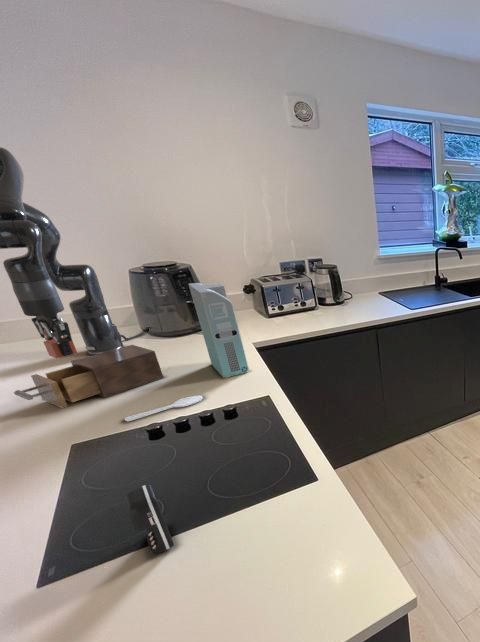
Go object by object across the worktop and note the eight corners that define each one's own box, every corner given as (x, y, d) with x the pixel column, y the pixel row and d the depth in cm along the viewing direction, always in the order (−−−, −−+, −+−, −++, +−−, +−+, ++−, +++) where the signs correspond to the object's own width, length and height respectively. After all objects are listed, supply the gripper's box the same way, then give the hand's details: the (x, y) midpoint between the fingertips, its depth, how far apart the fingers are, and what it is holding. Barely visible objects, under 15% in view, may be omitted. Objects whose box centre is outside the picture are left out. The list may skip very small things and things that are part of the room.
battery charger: (141, 538, 74) (120, 490, 70) (167, 527, 77) (148, 479, 72) (148, 560, 70) (125, 510, 65) (175, 547, 72) (155, 498, 68)
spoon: (123, 417, 112) (122, 415, 111) (200, 394, 125) (199, 393, 124) (127, 424, 108) (126, 422, 108) (205, 400, 121) (205, 398, 121)
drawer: (38, 416, 110) (25, 390, 107) (18, 407, 114) (5, 382, 111) (124, 387, 126) (115, 364, 123) (104, 380, 130) (95, 357, 127)
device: (249, 371, 141) (228, 288, 130) (224, 378, 136) (199, 292, 124) (235, 358, 151) (215, 280, 140) (211, 364, 146) (188, 283, 135)
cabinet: (104, 397, 122) (92, 368, 118) (82, 389, 126) (70, 361, 123) (163, 377, 135) (154, 350, 131) (141, 370, 140) (132, 344, 136)
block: (69, 350, 118) (63, 336, 116) (77, 353, 117) (71, 339, 115) (49, 355, 114) (42, 341, 113) (57, 358, 113) (50, 344, 111)
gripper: (70, 296, 110) (93, 353, 116) (44, 290, 115) (67, 345, 121) (31, 302, 103) (58, 362, 110) (5, 296, 108) (32, 353, 115)
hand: (63, 353), depth 115 cm, fingers closed on block, 4 cm apart
